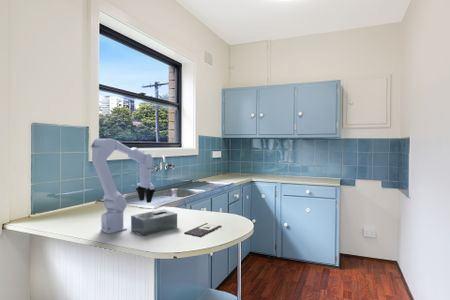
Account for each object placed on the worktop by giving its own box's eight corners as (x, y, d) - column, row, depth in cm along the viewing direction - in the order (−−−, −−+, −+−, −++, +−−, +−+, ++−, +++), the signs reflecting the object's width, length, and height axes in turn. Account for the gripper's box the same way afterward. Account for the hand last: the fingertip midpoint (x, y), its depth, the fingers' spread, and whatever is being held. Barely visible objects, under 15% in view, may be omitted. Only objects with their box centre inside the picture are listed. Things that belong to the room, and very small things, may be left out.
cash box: (143, 236, 125) (143, 220, 125) (131, 230, 134) (131, 215, 134) (177, 227, 138) (177, 213, 138) (163, 222, 146) (163, 209, 146)
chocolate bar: (184, 232, 129) (206, 223, 144) (184, 234, 129) (206, 224, 144) (200, 235, 124) (221, 225, 140) (200, 238, 124) (221, 227, 140)
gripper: (159, 176, 147) (159, 202, 147) (145, 174, 157) (145, 198, 158) (146, 177, 142) (147, 204, 142) (133, 175, 152) (133, 200, 153)
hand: (145, 201), depth 150 cm, fingers open, 7 cm apart
